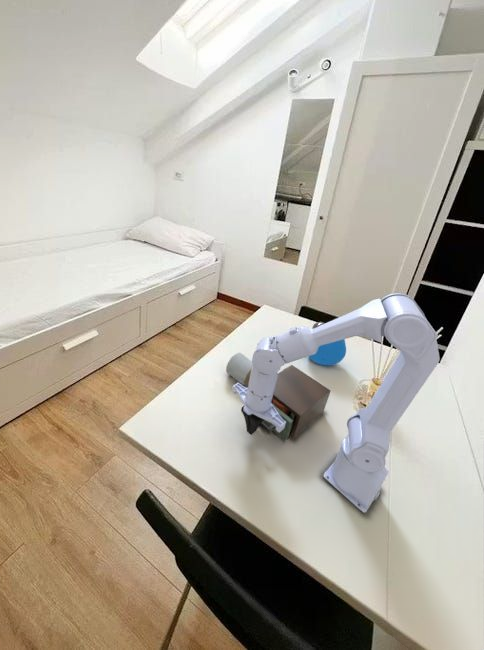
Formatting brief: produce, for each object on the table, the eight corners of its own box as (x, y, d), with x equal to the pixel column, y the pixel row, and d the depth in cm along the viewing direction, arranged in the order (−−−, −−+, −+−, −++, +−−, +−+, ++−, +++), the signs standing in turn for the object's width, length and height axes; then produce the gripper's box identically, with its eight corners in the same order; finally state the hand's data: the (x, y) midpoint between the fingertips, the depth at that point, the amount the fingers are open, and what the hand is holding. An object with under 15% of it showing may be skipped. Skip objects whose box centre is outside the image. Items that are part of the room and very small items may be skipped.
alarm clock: (338, 360, 106) (350, 325, 100) (340, 371, 101) (352, 334, 95) (302, 351, 109) (311, 316, 104) (301, 360, 104) (311, 324, 98)
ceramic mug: (244, 392, 87) (248, 371, 84) (224, 377, 92) (227, 357, 89) (264, 377, 94) (269, 357, 91) (244, 364, 99) (248, 345, 96)
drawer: (272, 452, 68) (277, 433, 66) (237, 419, 76) (240, 401, 74) (314, 415, 80) (320, 398, 78) (280, 390, 88) (284, 373, 85)
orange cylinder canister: (292, 415, 78) (297, 401, 76) (281, 424, 75) (285, 410, 73) (277, 402, 82) (280, 389, 80) (265, 411, 78) (268, 397, 76)
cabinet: (293, 439, 73) (300, 415, 70) (255, 407, 82) (259, 384, 79) (323, 412, 83) (330, 390, 79) (286, 385, 91) (291, 364, 88)
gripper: (226, 376, 67) (219, 418, 73) (275, 418, 58) (264, 463, 63) (246, 365, 72) (239, 406, 77) (296, 402, 62) (283, 446, 67)
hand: (251, 431), depth 70 cm, fingers closed, pressing on drawer
